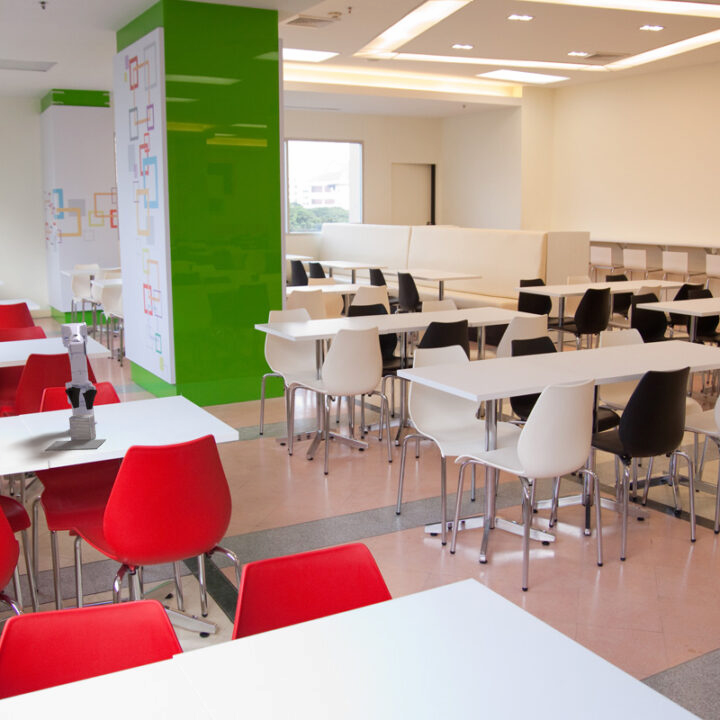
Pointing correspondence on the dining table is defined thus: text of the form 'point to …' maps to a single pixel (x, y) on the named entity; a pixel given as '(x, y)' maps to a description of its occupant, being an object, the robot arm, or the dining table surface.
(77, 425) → the medicine box
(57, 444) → the mat
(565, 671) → the dining table surface
